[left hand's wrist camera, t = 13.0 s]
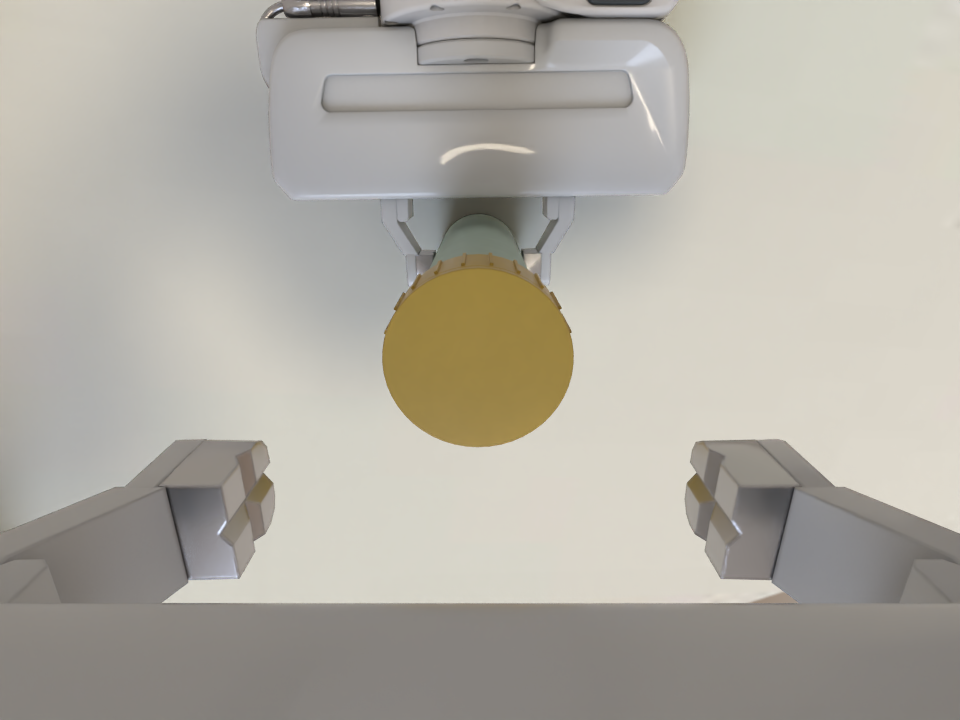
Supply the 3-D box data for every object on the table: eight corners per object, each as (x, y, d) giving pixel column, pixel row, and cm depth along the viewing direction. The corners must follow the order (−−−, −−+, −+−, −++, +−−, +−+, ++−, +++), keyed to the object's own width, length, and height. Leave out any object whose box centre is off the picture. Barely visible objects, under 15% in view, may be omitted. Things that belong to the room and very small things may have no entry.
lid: (579, 264, 17) (594, 280, 15) (546, 424, 19) (555, 460, 17) (400, 239, 17) (387, 251, 14) (386, 404, 19) (373, 438, 16)
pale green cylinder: (522, 219, 33) (573, 290, 15) (510, 294, 35) (542, 438, 17) (445, 208, 33) (404, 267, 15) (437, 284, 35) (390, 420, 17)
